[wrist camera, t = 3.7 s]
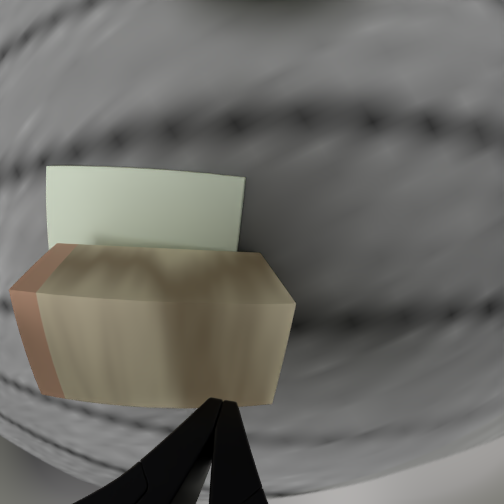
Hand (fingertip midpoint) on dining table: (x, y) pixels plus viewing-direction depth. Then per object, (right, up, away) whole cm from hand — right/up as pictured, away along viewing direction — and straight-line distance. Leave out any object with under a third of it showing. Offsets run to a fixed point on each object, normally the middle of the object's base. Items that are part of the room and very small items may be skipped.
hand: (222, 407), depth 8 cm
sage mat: (-6, +3, +8) cm, 10 cm away
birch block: (+1, +2, +5) cm, 5 cm away
